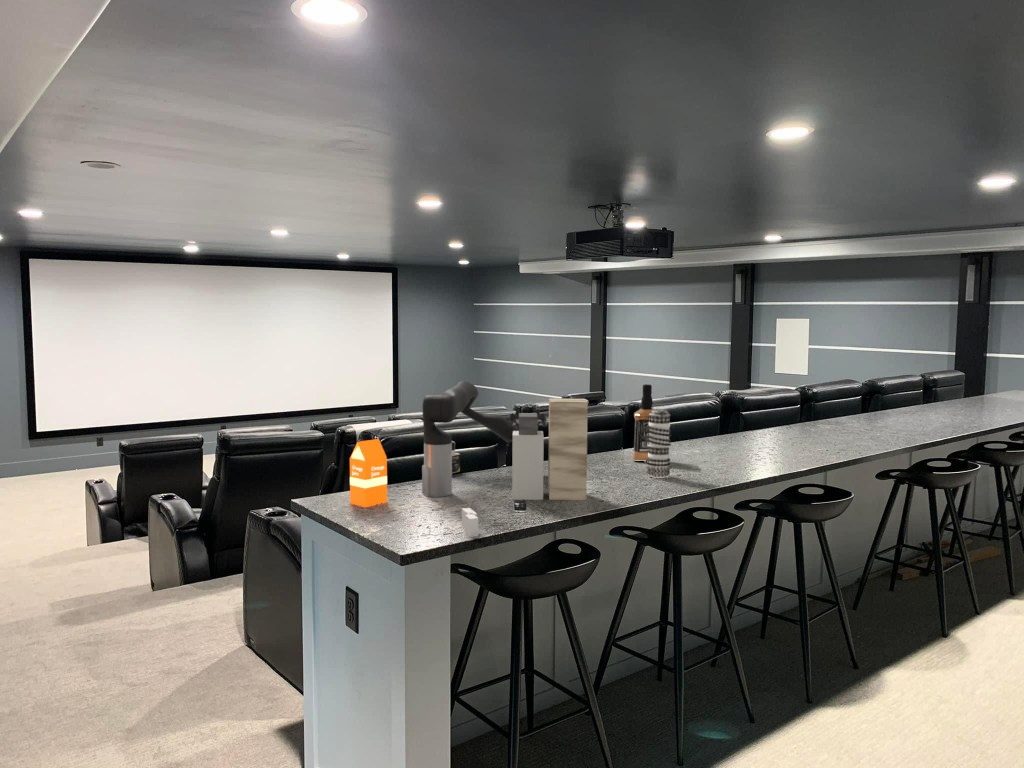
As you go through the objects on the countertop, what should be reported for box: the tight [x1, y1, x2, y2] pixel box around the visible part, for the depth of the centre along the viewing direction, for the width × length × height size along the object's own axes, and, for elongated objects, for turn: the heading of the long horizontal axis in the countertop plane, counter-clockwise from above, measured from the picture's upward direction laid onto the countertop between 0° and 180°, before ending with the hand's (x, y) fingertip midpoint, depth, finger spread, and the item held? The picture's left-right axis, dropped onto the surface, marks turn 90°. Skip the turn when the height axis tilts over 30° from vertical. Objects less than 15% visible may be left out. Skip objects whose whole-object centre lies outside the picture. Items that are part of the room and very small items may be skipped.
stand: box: [547, 398, 589, 501], centre depth 241 cm, size 10×12×32 cm
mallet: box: [519, 412, 537, 435], centre depth 246 cm, size 19×6×6 cm, turn 179°
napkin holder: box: [461, 507, 479, 538], centre depth 200 cm, size 15×11×6 cm
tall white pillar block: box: [511, 430, 545, 501], centre depth 241 cm, size 10×10×21 cm
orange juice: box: [349, 438, 388, 508], centre depth 231 cm, size 8×9×20 cm
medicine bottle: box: [452, 440, 461, 474], centre depth 281 cm, size 7×7×12 cm
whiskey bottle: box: [632, 384, 654, 461], centre depth 307 cm, size 10×10×32 cm
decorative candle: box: [646, 409, 672, 477], centre depth 274 cm, size 9×9×25 cm
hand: (527, 412), depth 250 cm, fingers open, 5 cm apart
